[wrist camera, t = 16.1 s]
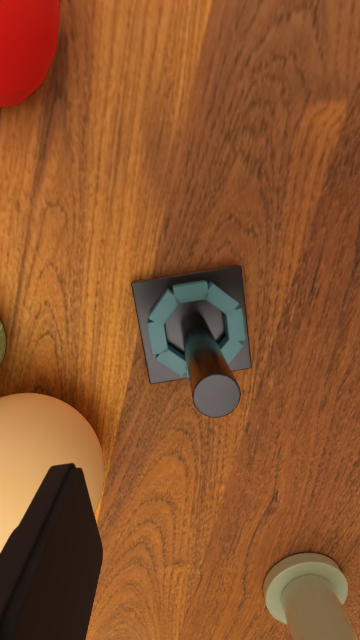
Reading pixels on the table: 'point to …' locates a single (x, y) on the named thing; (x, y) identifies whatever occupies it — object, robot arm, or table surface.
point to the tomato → (26, 46)
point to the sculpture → (41, 452)
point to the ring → (189, 294)
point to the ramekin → (2, 342)
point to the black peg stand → (197, 338)
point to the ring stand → (309, 597)
